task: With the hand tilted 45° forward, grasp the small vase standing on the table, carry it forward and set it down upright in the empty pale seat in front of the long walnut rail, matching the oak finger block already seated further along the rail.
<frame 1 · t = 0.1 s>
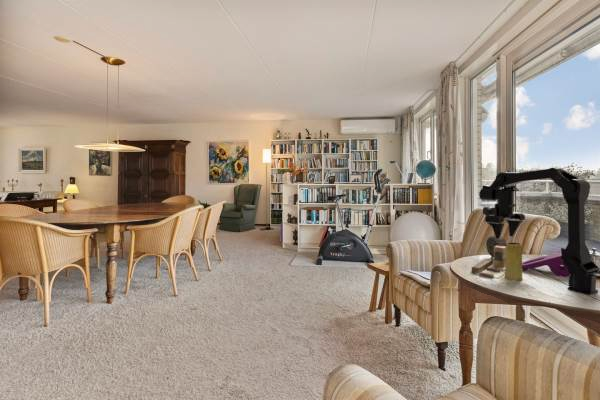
hand: (504, 237, 140), 15 cm above the table, tool pointing down, fingers open, 9 cm apart
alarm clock: (495, 259, 160), on the table
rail: (489, 274, 137), on the table
vase: (513, 278, 131), on the table
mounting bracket: (545, 272, 139), on the table
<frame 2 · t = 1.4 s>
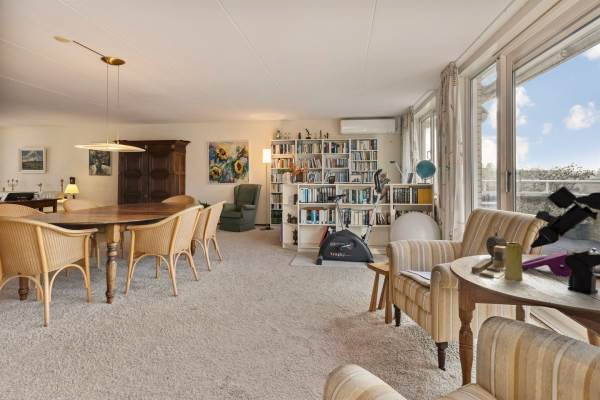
hand: (533, 245, 125), 14 cm above the table, tool tilted 45°, fingers open, 9 cm apart
nothing on the table moved.
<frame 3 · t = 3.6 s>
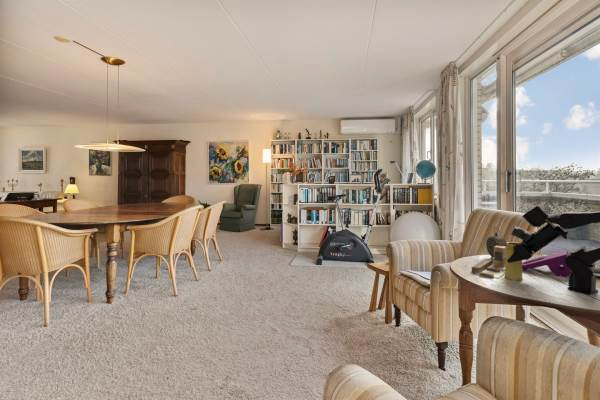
hand: (509, 260, 131), 7 cm above the table, tool tilted 45°, fingers closed on vase, 5 cm apart
vase: (513, 278, 131), on the table, touching gripper
everything else where it was.
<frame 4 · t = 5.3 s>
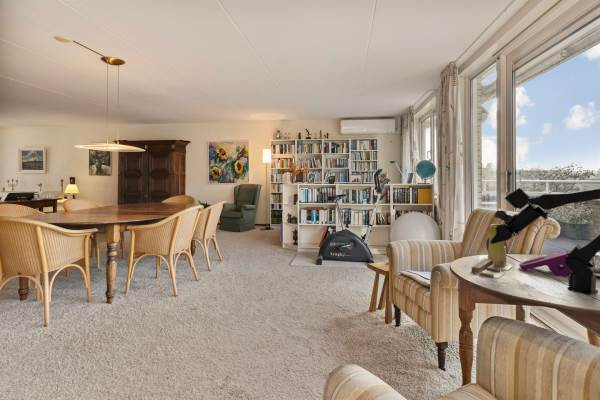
hand: (492, 241, 135), 14 cm above the table, tool tilted 45°, fingers closed on vase, 5 cm apart
vase: (496, 259, 135), point 7 cm above the table, touching gripper
everything else where it was.
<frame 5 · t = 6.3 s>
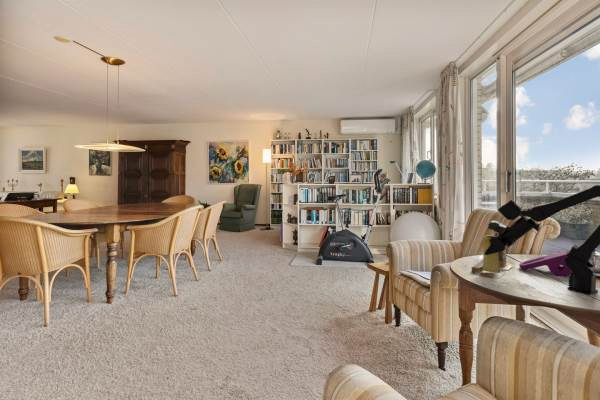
hand: (487, 253, 137), 9 cm above the table, tool tilted 45°, fingers closed on vase, 5 cm apart
vase: (490, 270, 137), point 2 cm above the table, touching gripper
everything else where it was.
when the fingers open (8 cm above the table, at t = 6.9 s): vase stays where it is, resting on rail.
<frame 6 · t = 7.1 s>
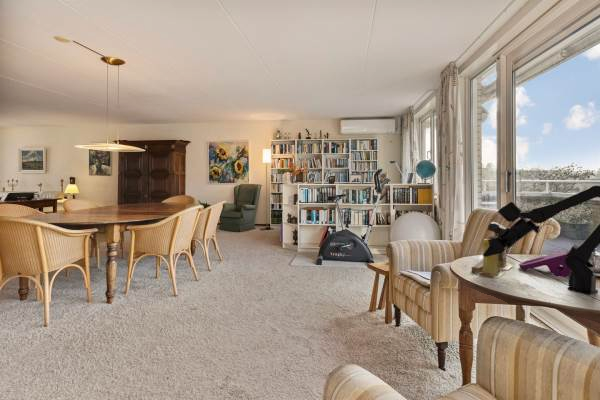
hand: (486, 254, 137), 8 cm above the table, tool tilted 45°, fingers open, 8 cm apart
vase: (490, 274, 137), resting on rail
everything else where it was.
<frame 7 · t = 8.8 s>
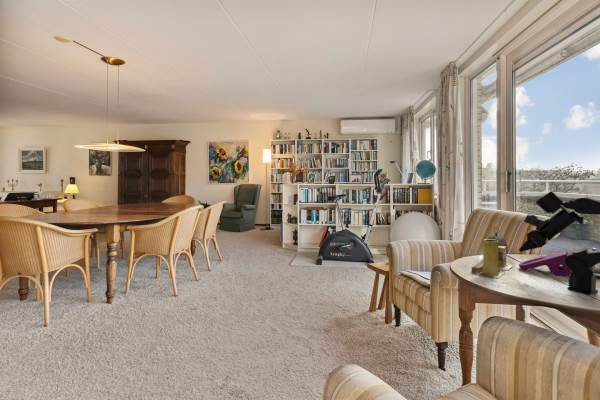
hand: (522, 248, 128), 13 cm above the table, tool tilted 45°, fingers open, 9 cm apart
nothing on the table moved.
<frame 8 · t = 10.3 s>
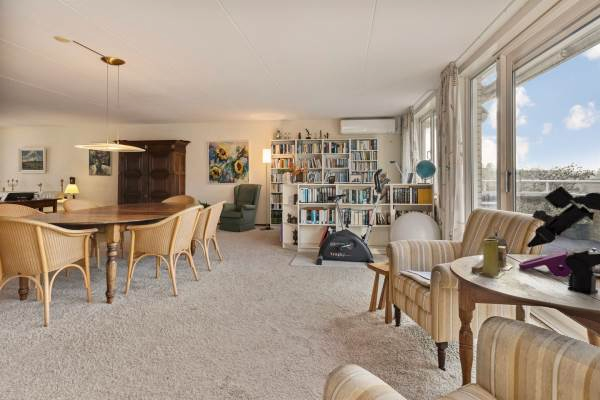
hand: (530, 244, 126), 15 cm above the table, tool tilted 45°, fingers open, 9 cm apart
nothing on the table moved.
at the end: vase 0.2 cm off-centre on the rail, point 0.1 cm above the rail's base; vase tilted 0°; the gripper is holding nothing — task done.
